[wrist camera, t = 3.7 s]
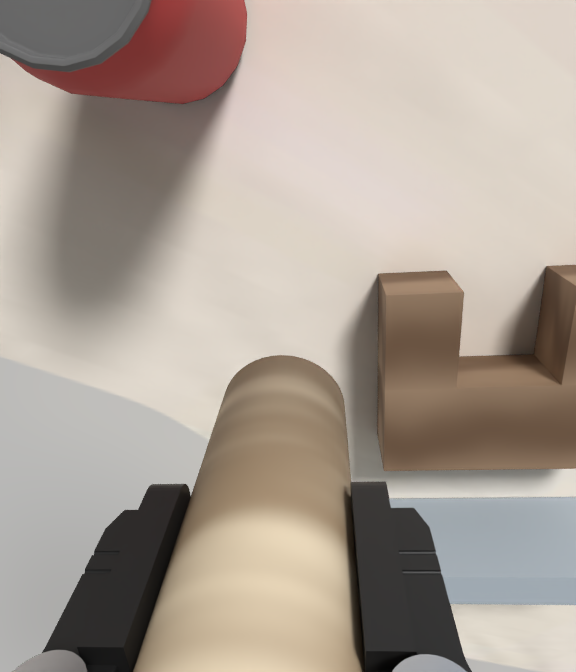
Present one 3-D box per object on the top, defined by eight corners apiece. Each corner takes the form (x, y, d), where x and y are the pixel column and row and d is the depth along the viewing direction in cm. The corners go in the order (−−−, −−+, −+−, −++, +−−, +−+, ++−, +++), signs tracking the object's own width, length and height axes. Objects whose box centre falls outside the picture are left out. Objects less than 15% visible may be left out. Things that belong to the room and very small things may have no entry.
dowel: (216, 357, 14) (-154, 1256, 3) (343, 353, 14) (441, 1321, 3) (230, 460, 15) (13, 1322, 4) (346, 457, 15) (417, 1372, 4)
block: (378, 273, 26) (386, 295, 23) (618, 263, 25) (660, 284, 22) (377, 433, 30) (383, 470, 27) (585, 429, 29) (617, 467, 26)
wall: (345, 499, 33) (350, 576, 27) (605, 496, 31) (665, 578, 26) (346, 522, 33) (351, 602, 28) (599, 521, 32) (656, 605, 27)
